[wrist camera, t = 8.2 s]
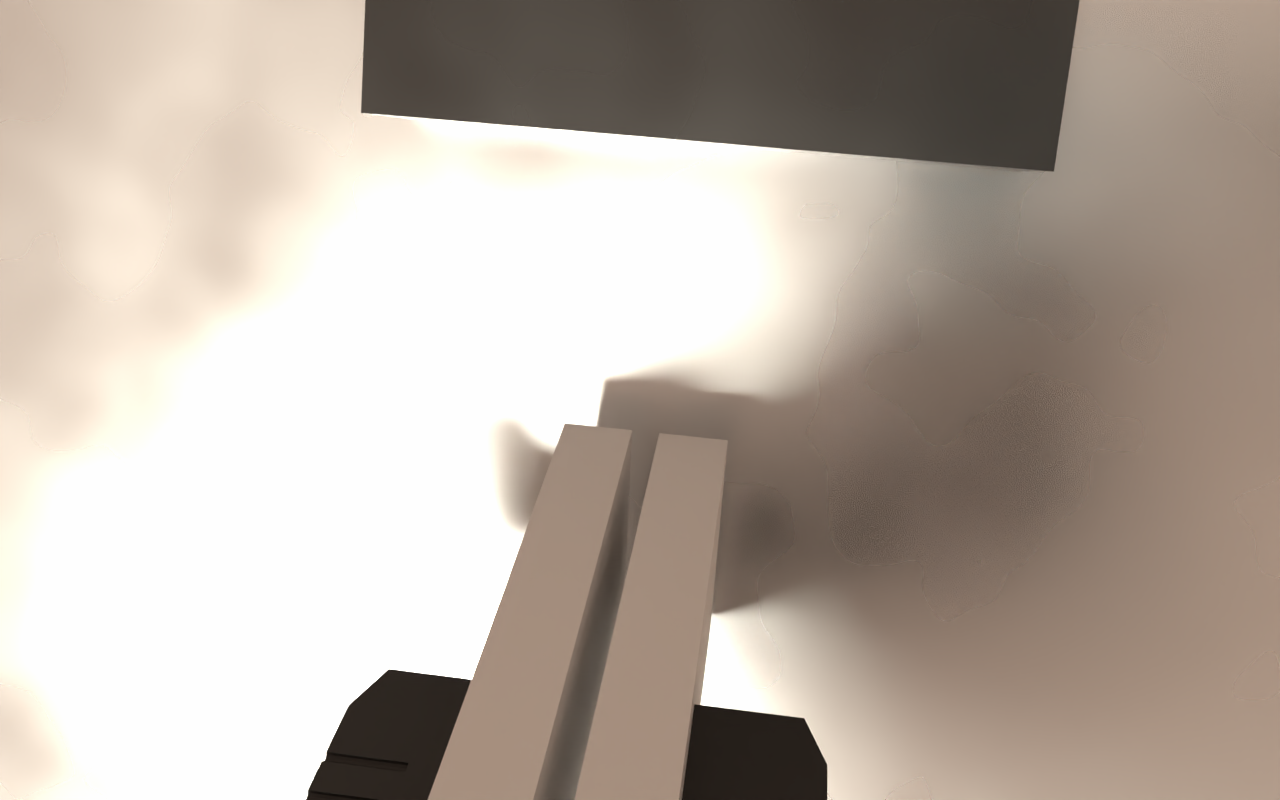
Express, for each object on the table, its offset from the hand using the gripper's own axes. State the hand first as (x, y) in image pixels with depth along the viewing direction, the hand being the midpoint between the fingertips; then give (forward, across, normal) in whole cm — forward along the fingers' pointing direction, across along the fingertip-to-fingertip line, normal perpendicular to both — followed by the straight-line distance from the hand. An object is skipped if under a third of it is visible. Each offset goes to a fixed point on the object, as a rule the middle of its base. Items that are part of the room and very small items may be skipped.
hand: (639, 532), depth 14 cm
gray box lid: (+1, 0, -3) cm, 4 cm away
